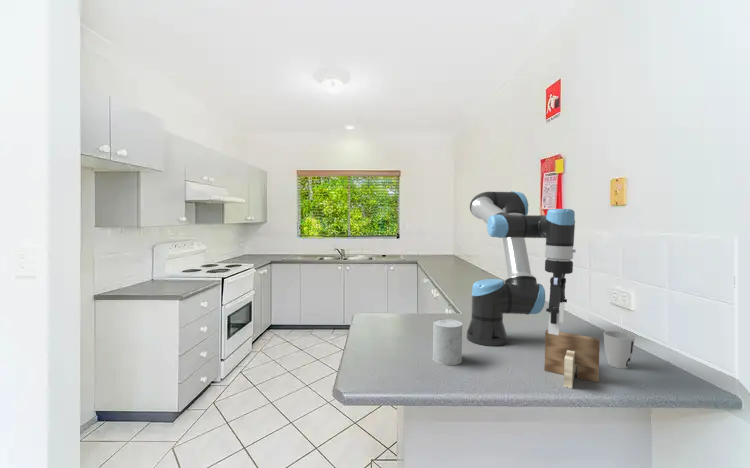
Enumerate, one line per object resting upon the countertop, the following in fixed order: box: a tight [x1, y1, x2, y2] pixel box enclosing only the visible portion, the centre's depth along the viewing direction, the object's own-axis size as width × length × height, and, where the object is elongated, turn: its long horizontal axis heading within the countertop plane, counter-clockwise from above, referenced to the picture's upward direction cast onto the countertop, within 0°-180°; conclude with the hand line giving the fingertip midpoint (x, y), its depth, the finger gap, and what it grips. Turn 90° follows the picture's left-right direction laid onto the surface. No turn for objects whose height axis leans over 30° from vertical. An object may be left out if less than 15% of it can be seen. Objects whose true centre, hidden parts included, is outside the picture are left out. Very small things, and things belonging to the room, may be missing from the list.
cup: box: [603, 330, 636, 370], centre depth 110 cm, size 8×8×10 cm
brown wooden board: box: [544, 329, 601, 384], centre depth 102 cm, size 14×3×12 cm, turn 56°
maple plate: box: [563, 350, 578, 389], centre depth 102 cm, size 20×2×8 cm, turn 146°
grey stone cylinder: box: [432, 318, 463, 366], centre depth 113 cm, size 10×10×12 cm
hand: (556, 327), depth 105 cm, fingers open, 13 cm apart
